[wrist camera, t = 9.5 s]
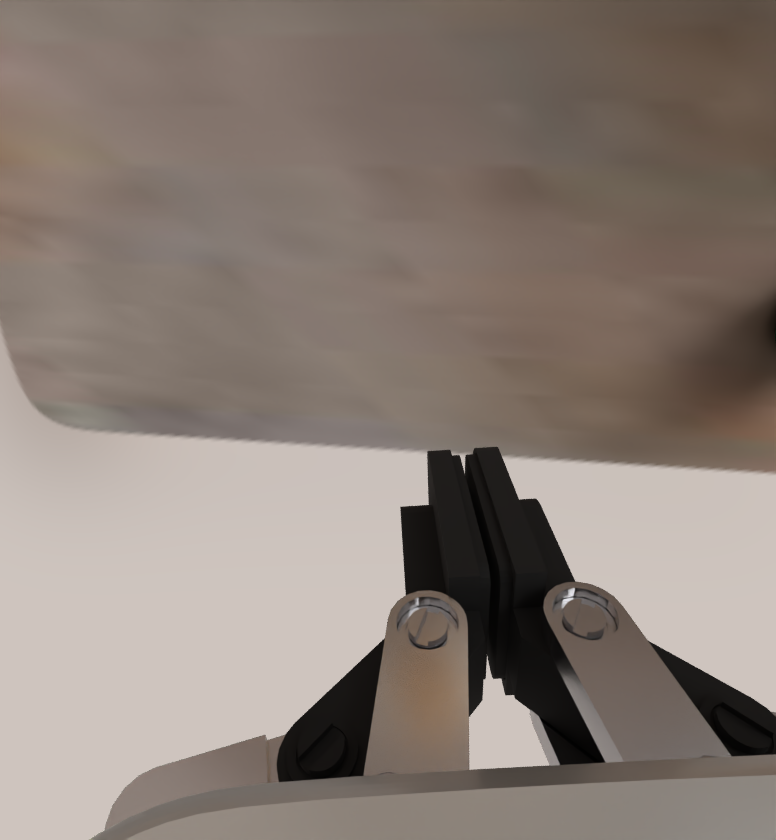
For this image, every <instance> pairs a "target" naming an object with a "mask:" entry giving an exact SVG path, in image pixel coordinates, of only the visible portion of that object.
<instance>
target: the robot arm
mask: <svg viewBox="0 0 776 840" xmlns="http://www.w3.org/2000/svg"><path fill="white" fill-rule="evenodd" d="M427 456H428V457H427V458H428V494H429V505H422V506H407V507H401V524H402V540H403V555H404V572H405V589H406V596H404V597H403V598H401V599H400V600H399V601H398V602H397V603H396V604H395V605H394V607H393V608H392V609H391V612H390V615H389V618H388V622H387V629H386V635H385V639H384V640H382V642H380V643H379V644H378V645H377V646H376V647H375V648H374V649H373V650H372V651H371V652H370V653H369V654H368V655H367V656H365V657H364V658H363V659H362V660H361V661H360V662H359V663H358V664H357V665H356V666H355V667H354V668H353V669H352V670H351V671H350V672H349V673H347V674H346V675H345V676H344V677H343V678H342V679H341V680H340V681H339V682H338V683H337V684H336V685H335V686H334V687H333V688H332V689H331V690H329V691H328V692H327V693H326V694H325V695H324V696H323V697H322V698H321V699H320V700H319V701H318V702H317V703H316V704H315V705H313V707H311V708H310V709H309V710H308V711H307V712H306V713H305V714H304V715H303V716H302V717H301V718H300V719H299V720H298V721H297V722H295V724H294V725H293V726H292V727H291V728H290V730H289V731H288V732H287V734H286V735H283V736H280V737H276V738H273V739H270V740H267V738H266V735H263V736H259V737H256V738H252V739H249V740H246V741H243V742H239V743H236V744H232V745H230V746H226V747H222V748H219V749H216V750H212V751H209V752H206V753H203V754H199V755H196V756H192V757H189V758H186V759H182V760H179V761H176V762H172V763H169V764H166V765H162V766H159V767H156V768H153V769H151V770H149V771H147V772H145V773H143V774H141V775H139V776H138V777H137V778H136V779H134V780H133V781H132V782H131V783H130V784H129V785H128V786H127V787H125V789H124V790H123V791H122V793H121V794H120V796H119V797H118V798H117V800H116V801H115V803H114V804H113V806H112V809H111V811H110V814H109V817H108V820H107V822H106V826H105V830H104V831H103V832H101V833H99V834H97V835H96V836H94V837H93V838H91V839H90V840H776V713H775V712H770V711H769V710H768V709H767V708H766V707H764V706H763V705H761V704H760V703H758V702H757V701H755V700H754V699H752V698H751V697H749V696H747V695H745V694H743V693H741V692H740V691H738V690H736V689H734V688H732V687H730V686H729V685H727V684H725V683H723V682H721V681H720V680H718V679H716V678H714V677H713V676H711V675H709V674H707V673H705V672H704V671H702V670H700V669H698V668H696V667H694V666H693V665H691V664H689V663H687V662H685V661H684V660H682V659H680V658H678V657H676V656H675V655H672V654H671V653H669V652H667V651H665V650H664V649H662V648H660V647H658V646H657V645H655V644H653V643H651V642H649V641H648V640H647V639H646V638H645V636H644V635H643V634H642V632H641V631H640V629H639V628H638V627H637V625H636V624H635V622H634V621H633V620H632V618H631V617H630V616H629V614H628V613H627V611H626V610H625V609H624V607H623V606H622V605H621V604H620V603H619V602H618V600H617V599H616V598H615V597H614V596H612V595H611V594H609V593H608V592H606V591H605V590H603V589H601V588H599V587H596V586H594V585H591V584H587V583H581V582H575V580H574V578H573V576H572V573H571V572H570V569H569V567H568V565H567V562H566V560H565V558H564V556H563V553H562V551H561V549H560V547H559V545H558V542H557V540H556V538H555V536H554V534H553V531H552V529H551V527H550V525H549V523H548V520H547V518H546V516H545V514H544V512H543V510H542V507H541V505H540V503H539V502H538V500H537V499H522V500H519V499H518V496H517V494H516V491H515V488H514V486H513V484H512V481H511V479H510V476H509V473H508V471H507V468H506V466H505V463H504V461H503V458H502V456H501V453H500V451H499V449H498V447H487V448H474V451H473V454H470V455H466V457H465V474H464V470H463V466H462V463H461V458H460V456H459V455H454V456H452V454H451V451H450V450H439V451H428V454H427ZM487 656H488V661H489V666H490V670H491V674H492V677H493V679H498V678H502V683H503V687H504V691H505V695H514V696H515V699H517V700H518V701H519V702H521V703H522V704H523V705H525V706H526V707H527V708H529V709H530V716H531V720H532V724H533V726H534V729H535V731H536V733H537V736H538V738H539V740H540V743H541V745H542V748H543V750H544V752H545V755H546V757H547V760H548V762H549V764H550V766H533V767H515V768H496V769H477V770H469V716H470V715H471V714H472V713H473V711H474V710H475V709H476V707H477V706H478V705H479V704H480V702H481V701H482V695H483V679H485V678H486V662H487Z"/></svg>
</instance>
